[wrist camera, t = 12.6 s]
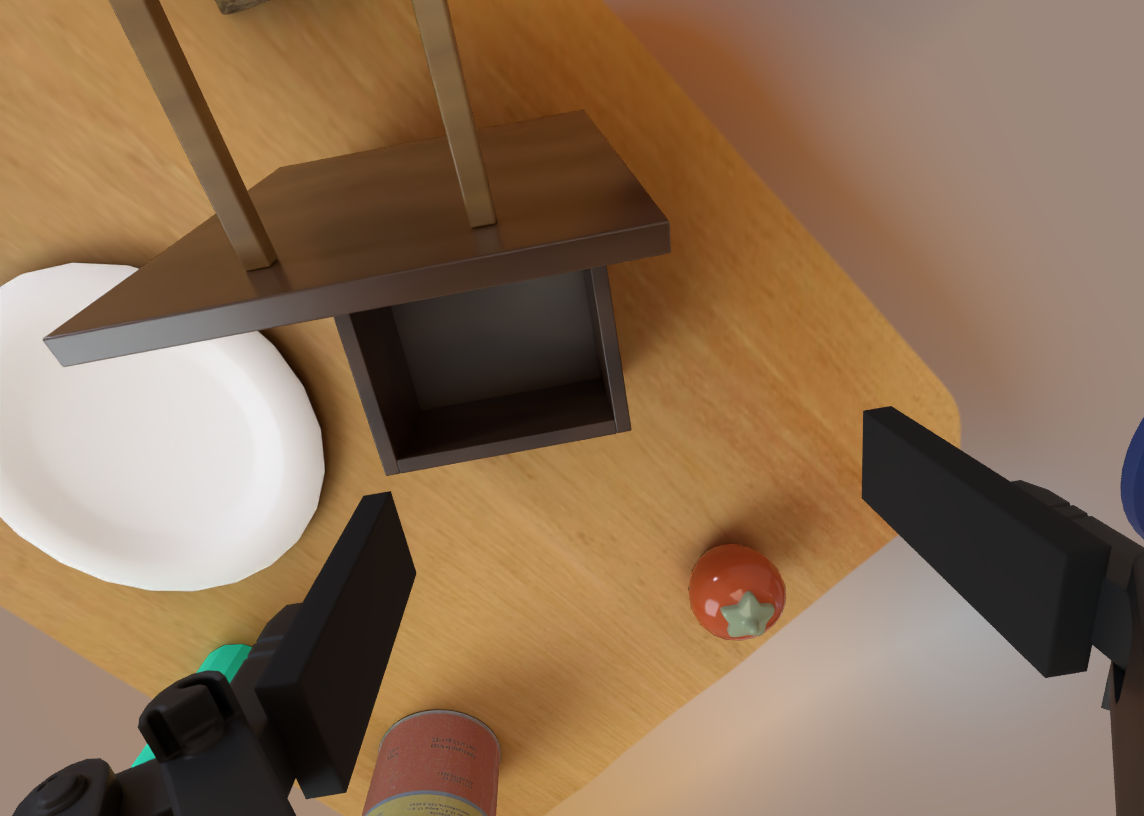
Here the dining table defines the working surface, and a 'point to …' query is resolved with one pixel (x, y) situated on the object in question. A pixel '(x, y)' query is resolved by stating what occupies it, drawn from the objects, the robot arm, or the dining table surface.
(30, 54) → the dining table surface
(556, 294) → the dark wooden box
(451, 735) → the canned food
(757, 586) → the tomato
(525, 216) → the lid
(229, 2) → the rock
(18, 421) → the plate
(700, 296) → the dining table surface
